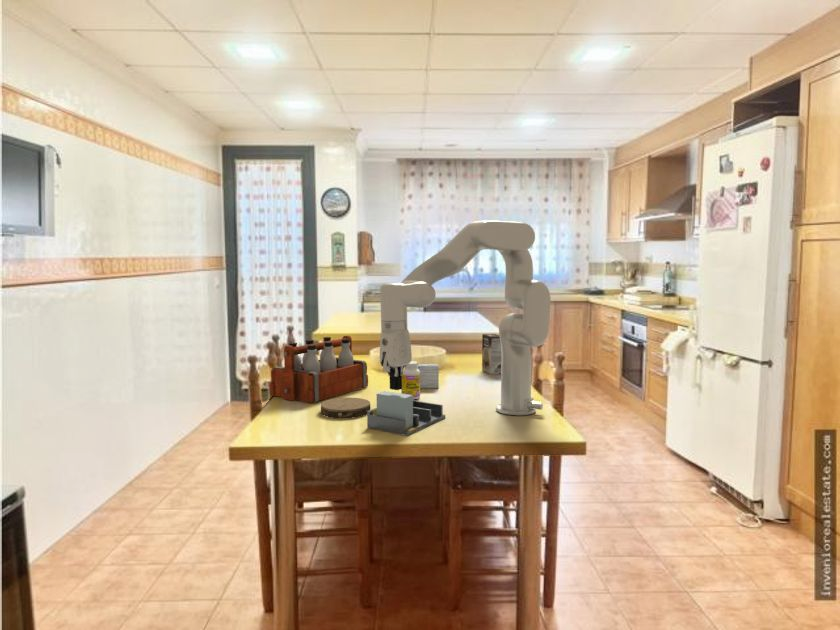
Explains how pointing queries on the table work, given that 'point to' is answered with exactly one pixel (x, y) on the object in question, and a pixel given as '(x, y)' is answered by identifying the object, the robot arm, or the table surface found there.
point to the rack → (421, 418)
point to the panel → (395, 406)
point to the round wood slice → (345, 407)
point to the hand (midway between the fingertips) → (395, 389)
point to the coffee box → (491, 353)
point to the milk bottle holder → (318, 371)
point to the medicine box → (429, 375)
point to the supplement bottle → (411, 380)
